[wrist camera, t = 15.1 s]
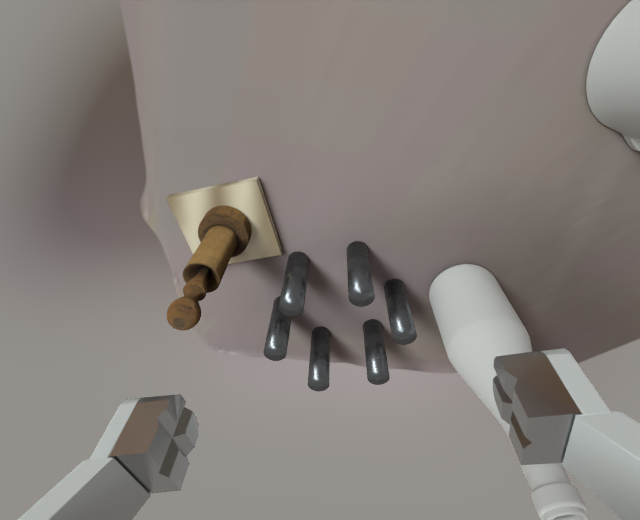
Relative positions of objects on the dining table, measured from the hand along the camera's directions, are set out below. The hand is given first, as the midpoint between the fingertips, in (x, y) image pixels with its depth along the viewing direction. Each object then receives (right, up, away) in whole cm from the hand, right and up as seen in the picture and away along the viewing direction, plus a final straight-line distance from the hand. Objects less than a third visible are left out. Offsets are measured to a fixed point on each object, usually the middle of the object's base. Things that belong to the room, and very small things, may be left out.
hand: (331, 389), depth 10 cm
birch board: (-13, +8, +40) cm, 42 cm away
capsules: (+2, -2, +46) cm, 46 cm away
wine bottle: (+20, -1, +45) cm, 49 cm away
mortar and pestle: (-13, +8, +39) cm, 42 cm away
